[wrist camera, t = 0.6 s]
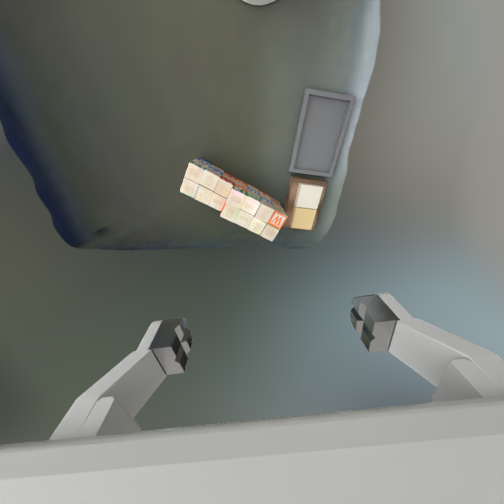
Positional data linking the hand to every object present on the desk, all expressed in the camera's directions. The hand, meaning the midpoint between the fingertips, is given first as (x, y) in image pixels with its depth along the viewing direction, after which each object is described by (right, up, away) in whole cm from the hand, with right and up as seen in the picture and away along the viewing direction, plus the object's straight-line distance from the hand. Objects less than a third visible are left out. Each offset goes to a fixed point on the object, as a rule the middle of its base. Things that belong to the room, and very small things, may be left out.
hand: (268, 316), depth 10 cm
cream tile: (+12, +16, +37) cm, 42 cm away
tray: (+14, +28, +34) cm, 46 cm away
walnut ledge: (+12, +16, +41) cm, 45 cm away
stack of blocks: (-5, +18, +39) cm, 43 cm away
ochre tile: (+11, +12, +39) cm, 43 cm away
